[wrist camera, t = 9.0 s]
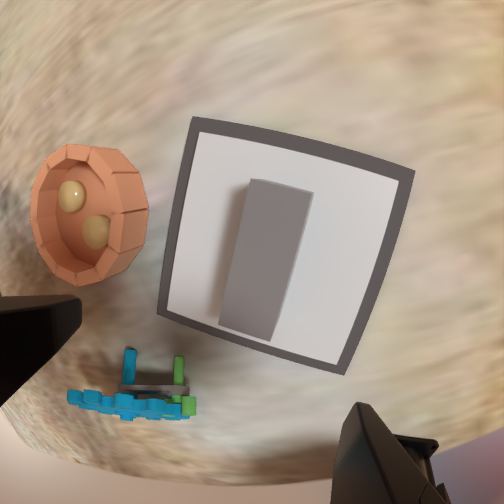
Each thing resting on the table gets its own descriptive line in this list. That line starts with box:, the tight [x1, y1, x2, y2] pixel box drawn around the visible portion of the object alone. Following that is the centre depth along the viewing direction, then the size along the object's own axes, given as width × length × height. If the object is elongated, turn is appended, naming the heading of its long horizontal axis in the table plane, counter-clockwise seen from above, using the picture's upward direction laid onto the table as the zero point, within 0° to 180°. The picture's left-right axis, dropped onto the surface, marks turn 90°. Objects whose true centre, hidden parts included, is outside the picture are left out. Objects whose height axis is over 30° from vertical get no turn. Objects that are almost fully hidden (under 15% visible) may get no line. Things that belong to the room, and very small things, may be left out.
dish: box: [30, 144, 149, 287], centre depth 21 cm, size 10×10×3 cm
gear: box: [67, 349, 196, 421], centre depth 22 cm, size 11×6×10 cm
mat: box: [157, 116, 415, 375], centre depth 19 cm, size 14×14×1 cm
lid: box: [167, 132, 399, 365], centre depth 17 cm, size 12×12×4 cm
